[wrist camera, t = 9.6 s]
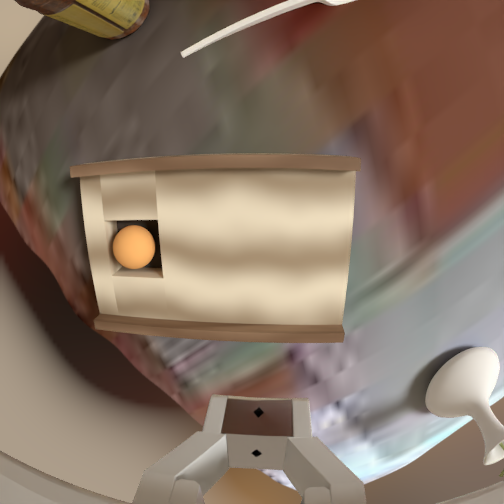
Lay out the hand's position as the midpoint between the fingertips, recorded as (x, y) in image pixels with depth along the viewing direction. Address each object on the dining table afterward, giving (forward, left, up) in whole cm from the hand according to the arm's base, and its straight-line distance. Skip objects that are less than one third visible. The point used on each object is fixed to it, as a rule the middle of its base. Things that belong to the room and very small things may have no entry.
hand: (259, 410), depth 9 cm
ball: (+1, -12, -19) cm, 23 cm away
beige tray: (+1, -5, -21) cm, 22 cm away
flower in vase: (+19, +26, -21) cm, 38 cm away
